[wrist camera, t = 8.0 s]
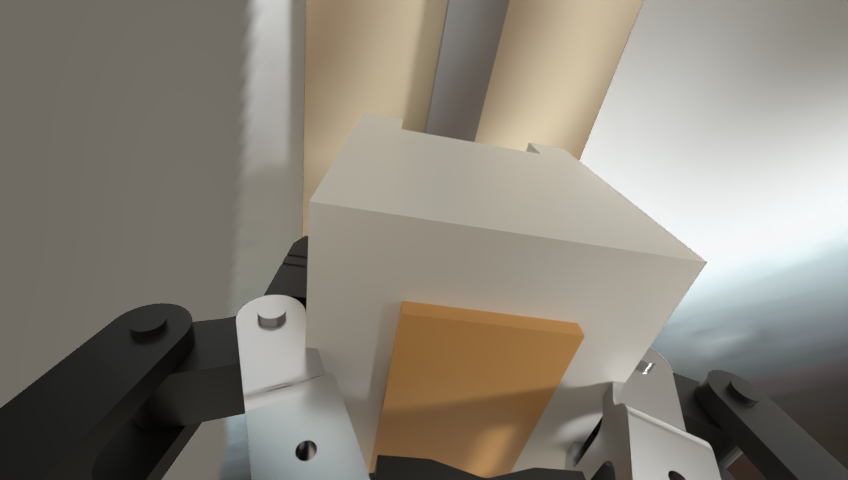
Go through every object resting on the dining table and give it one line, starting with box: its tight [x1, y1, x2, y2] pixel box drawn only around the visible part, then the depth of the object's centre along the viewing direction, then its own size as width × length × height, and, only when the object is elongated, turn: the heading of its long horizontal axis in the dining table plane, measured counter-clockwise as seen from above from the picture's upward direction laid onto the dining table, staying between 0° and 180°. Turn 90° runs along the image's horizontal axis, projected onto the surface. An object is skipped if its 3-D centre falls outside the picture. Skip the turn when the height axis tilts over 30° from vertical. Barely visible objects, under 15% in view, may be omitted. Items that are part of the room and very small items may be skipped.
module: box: [305, 112, 707, 478], centre depth 10 cm, size 6×8×6 cm
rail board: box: [302, 0, 644, 238], centre depth 17 cm, size 12×26×2 cm, turn 170°
